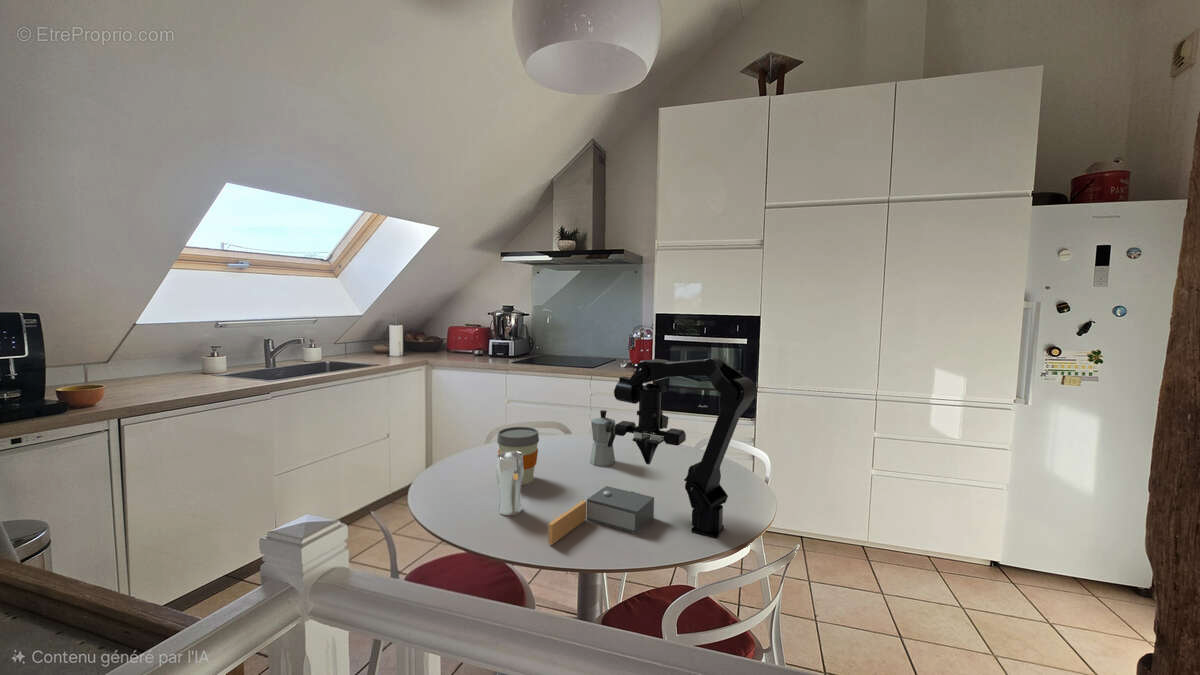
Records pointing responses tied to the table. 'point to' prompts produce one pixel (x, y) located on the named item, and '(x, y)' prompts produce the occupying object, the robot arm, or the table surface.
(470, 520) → the table surface
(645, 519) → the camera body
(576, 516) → the side door
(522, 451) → the reusable coffee cup
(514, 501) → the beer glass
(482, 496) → the table surface
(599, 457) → the coffee maker
